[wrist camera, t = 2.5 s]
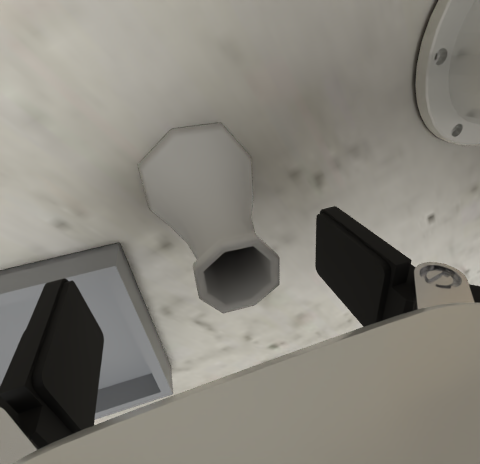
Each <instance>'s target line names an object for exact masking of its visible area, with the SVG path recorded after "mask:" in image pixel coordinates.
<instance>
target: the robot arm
mask: <svg viewBox="0 0 480 464" xmlns="http://www.w3.org/2000/svg"><path fill="white" fill-rule="evenodd" d="M415 86H416V97H417V104H418V108H419V111H420V115H421V118H422V119H423V121H424V123H425V124H426V126H427V128H428V129H429V130H430V131H431V132H432V133H433V134H434V135H435V136H436V137H438V138H440V139H442V140H445V141H447V142H450V143H454V144H459V145H462V146H475V145H479V144H480V0H438V3H437V5H436V7H435V9H434V11H433V13H432V15H431V17H430V20H429V23H428V25H427V28H426V31H425V34H424V37H423V40H422V43H421V48H420V53H419V57H418V62H417V71H416V84H415ZM316 270H317V273H318V274H319V276H320V277H321V278H322V279H323V280H324V281H325V282H326V284H327V285H328V286H329V287H330V288H331V289H332V291H333V292H334V293H335V294H336V295H337V296H338V298H339V299H340V300H341V301H342V302H343V303H344V304H345V306H346V307H347V308H348V309H349V310H350V311H351V313H352V314H353V315H354V316H355V317H356V318H357V320H358V321H359V322H360V323H361V324H362V325H363V326H364V327H362V328H359V329H356V330H354V331H351V332H348V333H345V334H342V335H340V336H337V337H334V338H331V339H328V340H325V341H323V342H320V343H317V344H314V345H311V346H309V347H306V348H303V349H300V350H297V351H295V352H292V353H289V354H286V355H284V356H281V357H278V358H275V359H272V360H270V361H267V362H264V363H261V364H259V365H256V366H253V367H250V368H248V369H245V370H242V371H239V372H237V373H234V374H231V375H228V376H226V377H223V378H220V379H217V380H215V381H212V382H209V383H206V384H204V385H201V386H198V387H196V388H193V389H190V390H187V391H185V392H182V393H179V394H177V395H174V396H171V397H168V398H166V399H163V400H160V401H158V402H155V403H152V404H149V405H147V406H144V407H141V408H139V409H136V410H133V411H131V412H128V413H125V414H123V415H120V416H118V417H115V418H112V419H110V420H107V421H105V422H102V423H99V424H97V425H94V419H95V411H96V403H97V395H98V387H99V378H100V370H101V362H102V354H103V346H104V336H103V332H102V330H101V328H100V327H99V325H98V323H97V321H96V319H95V318H94V316H93V314H92V312H91V311H90V309H89V307H88V305H87V303H86V302H85V300H84V298H83V296H82V294H81V293H80V291H79V289H78V287H77V286H76V284H75V282H74V281H68V280H67V279H65V278H63V279H59V280H56V281H52V282H48V283H46V284H45V286H44V288H43V290H42V293H41V295H40V297H39V300H38V302H37V304H36V307H35V309H34V311H33V314H32V316H31V319H30V321H29V323H28V326H27V328H26V330H25V331H24V333H23V335H22V337H21V339H20V342H19V344H18V346H17V349H16V351H15V353H14V356H13V358H12V360H11V363H10V365H9V367H8V370H7V372H6V374H5V377H4V379H3V381H2V384H1V386H0V464H480V286H475V285H470V284H469V283H468V280H467V278H466V277H465V275H464V274H463V273H461V272H460V271H459V270H457V269H455V268H454V267H451V266H449V265H446V264H442V263H437V262H427V263H422V264H420V265H418V266H417V267H414V266H413V265H411V260H410V259H409V258H408V257H406V256H405V255H403V254H402V253H401V252H399V251H398V250H396V249H395V248H394V247H392V246H391V245H389V244H388V243H387V242H385V241H384V240H382V239H381V238H380V237H378V236H377V235H375V234H374V233H373V232H371V231H370V230H368V229H367V228H366V227H364V226H363V225H361V224H360V223H359V222H357V221H356V220H354V219H353V218H352V217H350V216H349V215H347V214H346V213H344V212H343V211H342V210H340V209H339V208H337V207H336V206H334V207H330V208H326V209H322V210H321V211H320V214H318V215H317V220H316Z"/></svg>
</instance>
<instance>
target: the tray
mask: <svg viewBox="0 0 480 464" xmlns="http://www.w3.org/2000/svg"><path fill="white" fill-rule="evenodd" d="M63 278H65V279H67V280H68V281H74V282H75V284H76V286H77V287H78V289H79V291H80V293H81V294H82V296H83V298H84V300H85V302H86V303H87V305H88V307H89V309H90V311H91V312H92V314H93V316H94V318H95V319H96V321H97V323H98V325H99V327H100V328H101V330H102V332H103V336H104V346H103V354H102V362H101V370H100V378H99V387H98V395H97V403H96V411H95V419H98V418H101V417H104V416H107V415H110V414H114V413H117V412H120V411H123V410H126V409H129V408H132V407H135V406H138V405H141V404H144V403H147V402H150V401H154V400H157V399H160V398H163V397H166V396H169V395H172V394H173V387H172V372H171V366H170V363H169V361H168V358H167V356H166V354H165V351H164V349H163V346H162V344H161V341H160V339H159V337H158V334H157V332H156V329H155V327H154V325H153V322H152V320H151V317H150V315H149V312H148V310H147V308H146V305H145V303H144V300H143V298H142V296H141V293H140V291H139V288H138V286H137V284H136V281H135V279H134V276H133V274H132V271H131V269H130V267H129V264H128V262H127V259H126V257H125V255H124V252H123V250H122V247H121V245H120V243H115V244H111V245H107V246H103V247H98V248H94V249H90V250H86V251H81V252H77V253H73V254H69V255H64V256H60V257H56V258H52V259H47V260H43V261H39V262H35V263H30V264H26V265H22V266H18V267H13V268H9V269H5V270H1V271H0V386H1V384H2V381H3V379H4V377H5V374H6V372H7V370H8V367H9V365H10V363H11V360H12V358H13V356H14V353H15V351H16V349H17V346H18V344H19V342H20V339H21V337H22V335H23V333H24V331H25V330H26V328H27V326H28V323H29V321H30V319H31V316H32V314H33V311H34V309H35V307H36V304H37V302H38V300H39V297H40V295H41V293H42V290H43V288H44V286H45V284H46V283H48V282H52V281H56V280H59V279H63ZM95 419H94V420H95Z"/></svg>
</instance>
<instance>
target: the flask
mask: <svg viewBox="0 0 480 464" xmlns="http://www.w3.org/2000/svg"><path fill="white" fill-rule="evenodd" d="M138 169H139V172H140V176H141V180H142V184H143V187H144V191H145V195H146V199H147V202H148V206H149V209H150V210H151V211H152V212H153V213H155V214H156V215H157V216H158V217H159V218H161V219H162V220H163V221H164V222H165V223H167V224H168V225H169V226H170V227H171V228H172V229H173V230H174V231H175V232H176V233H177V234H178V235H179V236H181V237H182V238H183V239H184V240H185V241H186V242H187V243H188V245H189V247H190V249H191V250H192V252H193V254H194V255H195V257H196V259H197V261H196V262H195V263H194V264H193V270H194V275H195V280H196V285H197V290H198V295H199V298H200V299H201V300H202V301H204V302H206V303H207V304H209V305H211V306H212V307H214V308H215V309H217V310H219V311H220V312H222V313H226V312H230V311H234V310H238V309H242V308H246V307H250V306H254V305H256V304H257V303H258V302H259V301H261V300H262V299H263V298H264V297H265V296H266V295H268V294H269V293H270V292H271V291H272V290H274V289H275V288H276V287H277V286H278V285H279V256H278V255H277V254H276V253H275V252H274V251H273V250H272V249H271V248H270V247H269V246H268V245H267V244H266V243H264V242H263V241H262V240H261V239H260V238H259V237H258V236H257V235H256V233H255V230H254V226H253V222H252V218H251V215H252V207H253V184H252V165H251V156H250V155H249V154H248V153H247V152H246V151H245V149H244V148H243V147H242V146H241V145H240V144H239V143H238V141H237V140H236V139H235V138H234V137H233V136H232V135H231V134H230V132H229V131H228V130H227V129H226V128H225V127H224V126H223V124H222V123H213V124H206V125H198V126H190V127H183V128H175V129H171V130H170V131H169V132H168V133H167V134H166V135H165V136H164V137H163V138H162V139H161V140H160V141H159V143H158V144H157V145H156V146H155V147H154V148H153V149H152V150H151V151H150V152H149V153H148V154H147V155H146V156H145V157H144V158H143V159H142V160H141V162H140V163H139V164H138Z"/></svg>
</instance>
